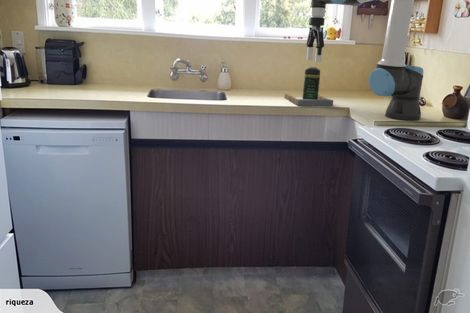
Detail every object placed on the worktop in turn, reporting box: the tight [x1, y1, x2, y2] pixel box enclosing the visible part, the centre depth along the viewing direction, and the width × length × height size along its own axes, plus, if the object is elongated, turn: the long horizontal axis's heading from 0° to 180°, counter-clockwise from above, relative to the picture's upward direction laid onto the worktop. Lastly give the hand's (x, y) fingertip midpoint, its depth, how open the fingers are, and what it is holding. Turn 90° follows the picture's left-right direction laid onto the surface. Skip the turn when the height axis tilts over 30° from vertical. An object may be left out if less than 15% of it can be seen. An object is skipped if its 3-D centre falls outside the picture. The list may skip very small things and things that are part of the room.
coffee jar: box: [302, 66, 321, 99], centre depth 220 cm, size 10×8×19 cm
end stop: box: [295, 98, 334, 107], centre depth 216 cm, size 3×18×3 cm, turn 99°
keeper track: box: [283, 92, 328, 106], centre depth 228 cm, size 24×18×2 cm
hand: (313, 61), depth 217 cm, fingers open, 13 cm apart
